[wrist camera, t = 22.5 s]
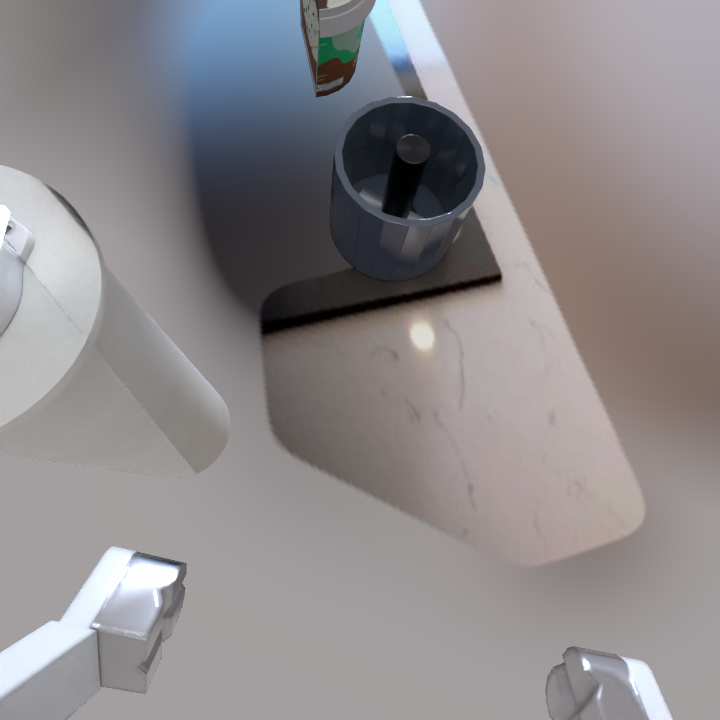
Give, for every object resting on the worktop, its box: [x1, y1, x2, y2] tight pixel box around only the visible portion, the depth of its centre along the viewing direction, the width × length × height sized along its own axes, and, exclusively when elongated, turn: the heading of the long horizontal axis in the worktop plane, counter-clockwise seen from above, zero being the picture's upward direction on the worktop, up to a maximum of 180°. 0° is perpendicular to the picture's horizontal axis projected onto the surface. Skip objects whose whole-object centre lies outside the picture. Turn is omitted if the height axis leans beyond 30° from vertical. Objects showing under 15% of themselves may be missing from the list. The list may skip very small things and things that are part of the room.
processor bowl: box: [330, 97, 485, 281], centre depth 42 cm, size 12×12×10 cm
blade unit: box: [359, 135, 430, 220], centre depth 41 cm, size 7×7×10 cm
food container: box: [300, 0, 376, 97], centre depth 46 cm, size 12×6×10 cm, turn 11°
